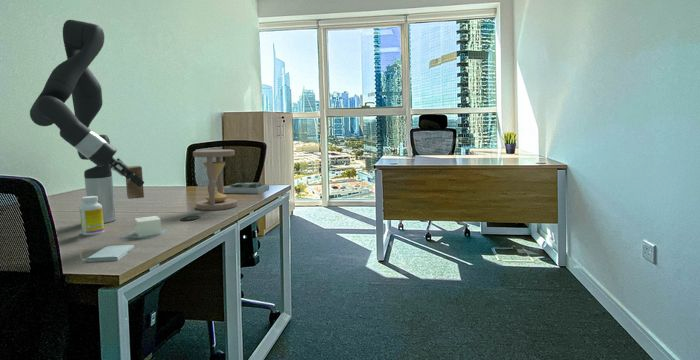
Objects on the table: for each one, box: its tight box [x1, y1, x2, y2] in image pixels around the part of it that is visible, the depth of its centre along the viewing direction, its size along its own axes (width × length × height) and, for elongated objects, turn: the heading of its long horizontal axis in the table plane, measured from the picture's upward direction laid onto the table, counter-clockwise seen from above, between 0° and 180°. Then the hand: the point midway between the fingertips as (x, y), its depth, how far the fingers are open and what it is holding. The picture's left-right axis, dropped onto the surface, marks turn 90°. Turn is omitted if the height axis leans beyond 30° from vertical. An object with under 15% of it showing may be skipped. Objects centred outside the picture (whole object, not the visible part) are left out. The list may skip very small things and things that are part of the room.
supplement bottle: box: [79, 196, 105, 236], centre depth 153 cm, size 7×7×13 cm
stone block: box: [230, 181, 262, 188], centre depth 241 cm, size 9×14×5 cm, turn 78°
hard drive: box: [85, 244, 135, 263], centre depth 128 cm, size 2×8×12 cm
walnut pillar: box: [125, 165, 145, 200], centre depth 146 cm, size 4×4×10 cm
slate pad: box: [122, 228, 172, 239], centre depth 151 cm, size 11×12×1 cm
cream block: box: [134, 215, 162, 237], centre depth 151 cm, size 7×7×5 cm
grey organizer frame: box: [223, 183, 270, 195], centre depth 244 cm, size 20×15×3 cm
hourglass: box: [192, 149, 238, 211], centre depth 198 cm, size 18×18×25 cm
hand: (140, 183), depth 147 cm, fingers closed on walnut pillar, 4 cm apart
